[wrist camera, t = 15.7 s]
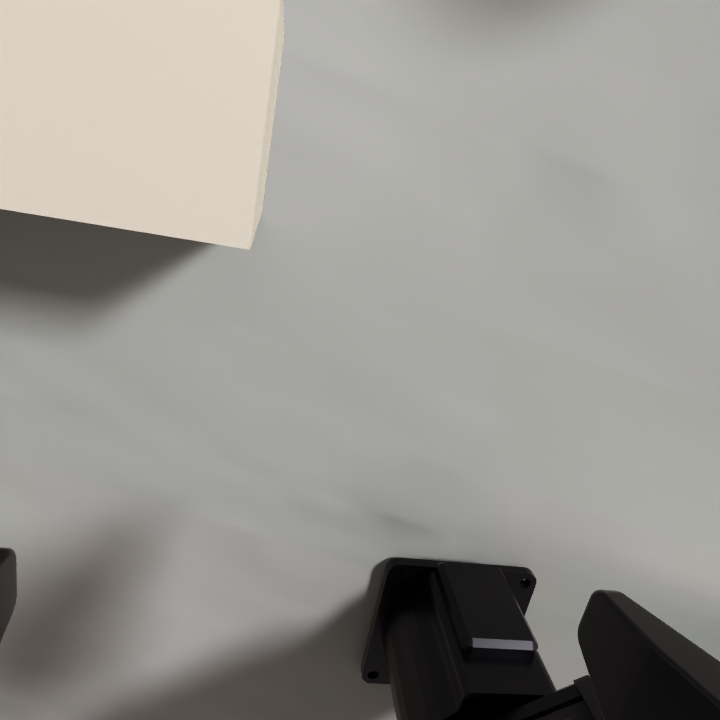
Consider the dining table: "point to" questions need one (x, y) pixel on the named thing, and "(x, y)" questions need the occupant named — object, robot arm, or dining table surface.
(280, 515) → the dining table surface
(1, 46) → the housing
